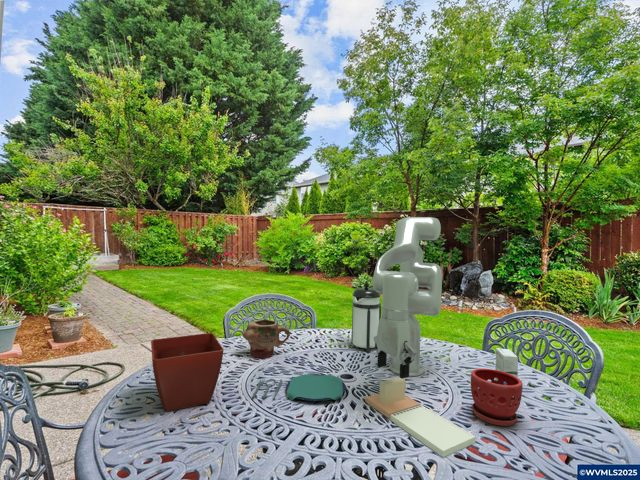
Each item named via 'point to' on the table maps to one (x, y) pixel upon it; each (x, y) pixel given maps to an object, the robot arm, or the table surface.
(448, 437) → the pale green notepad
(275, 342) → the brown sculpted mug
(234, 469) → the table surface
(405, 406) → the light switch
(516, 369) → the ink box
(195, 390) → the plant pot
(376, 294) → the coffee press
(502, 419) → the plant pot
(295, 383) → the cutlery set
